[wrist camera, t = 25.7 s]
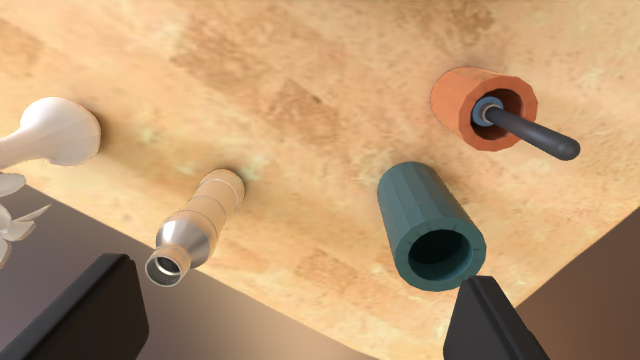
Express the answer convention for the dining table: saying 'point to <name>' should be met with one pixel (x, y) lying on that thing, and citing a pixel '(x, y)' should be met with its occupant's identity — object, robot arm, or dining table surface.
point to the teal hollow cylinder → (428, 229)
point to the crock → (461, 95)
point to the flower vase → (43, 154)
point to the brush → (524, 128)
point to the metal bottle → (194, 228)
